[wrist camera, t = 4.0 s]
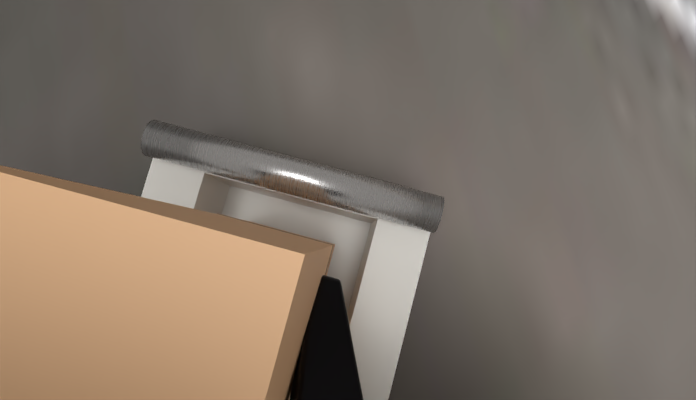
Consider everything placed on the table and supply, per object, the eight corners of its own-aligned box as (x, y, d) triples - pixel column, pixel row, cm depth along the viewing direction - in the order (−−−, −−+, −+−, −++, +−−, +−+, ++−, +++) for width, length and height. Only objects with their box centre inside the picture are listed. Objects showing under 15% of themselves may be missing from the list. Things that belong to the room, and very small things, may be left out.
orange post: (300, 376, 16) (85, 1061, 3) (211, 352, 16) (-441, 906, 3) (335, 243, 16) (308, 252, 3) (249, 220, 16) (-150, 127, 3)
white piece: (362, 429, 16) (370, 501, 11) (134, 366, 16) (54, 414, 11) (419, 206, 16) (447, 193, 12) (200, 147, 17) (148, 113, 12)
